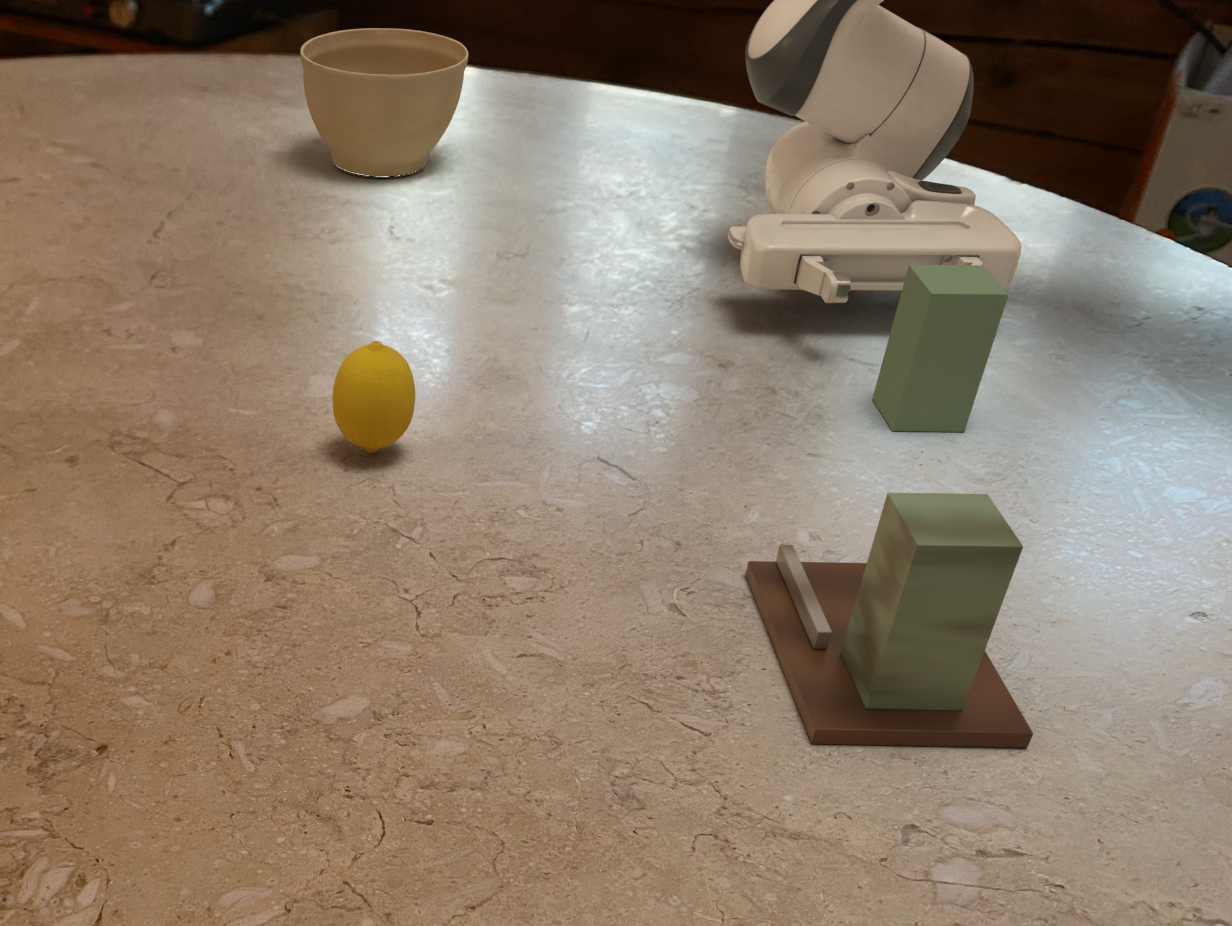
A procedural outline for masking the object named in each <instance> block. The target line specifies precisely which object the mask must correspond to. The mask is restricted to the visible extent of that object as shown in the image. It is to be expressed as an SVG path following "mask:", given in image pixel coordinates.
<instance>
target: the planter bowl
mask: <svg viewBox="0 0 1232 926" xmlns="http://www.w3.org/2000/svg"><path fill="white" fill-rule="evenodd" d="M299 52H300V53H299V54H300V62H301V66H302V79H303V80H302V81H303V89H304V96H305V101H306V104H307V108H308V111H309V114H310V116H311V119H312V122H313V124H314V126H315V128H316V131H317V132H318V134H319V136H320V138H321V139H322V141H323V142H324V143H325V145H326V146H327V148H328V149H329V151H330V157H331V162H332V161H333V162H332V164H333V163H334V164H335V165H337V166H338V167H340V168H342V169H345V170H347V171H350V172H354V173H359V174H364V175H369V176H394V177H393V178H399V177H400V176H398V175H402V176H401V177H404V176H409V175H413V174H415V173H416V174H417V173H418V172H420V171H421V170H423V169H424V168H425V167H426V165H427V164H428V160H429V155H430V153H431V152H432V150H433V149H434V148H435V147H436V146H437V145H438V144H439V142H440V140H441V139H442V138H443V136H444V134H445V133H446V131H447V129H449V126H450V124H451V122H452V119H453V118H454V116H455V113H456V110H457V107H458V104H459V101H460V98H461V95H462V89H463V84H464V76H465V71H466V68H467V65H468V61H469V50H468V49H467V47H466V46H465V45H464V44H463V43H462V42H460V41H458V40H456V39H454V38H451V37H448V36H445V35H441V34H437V33H433V32H428V31H424V30H423V31H422V30H415V29H407V28H406V29H405V28H392V27H391V28H389V27H388V28H379V27H376V28H375V27H374V28H373V27H370V28H369V27H368V28H367V27H366V28H353V29H351V28H350V29H343V30H337V31H332V32H331V31H330V32H328V33H325V34H324V33H323V34H321V35H320V34H319V35H318V36H315V37H312V38H310V39H308V40H307V41H305V42H304V43H303V44H302V45H301V47H300V51H299ZM334 164H333V165H334ZM335 165H334V166H335ZM424 166H425V167H424ZM423 167H424V168H423ZM422 168H423V169H422ZM420 169H421V170H420ZM418 170H419V171H418ZM415 171H417V172H415ZM343 172H344V173H346V172H345V171H343ZM412 172H414V173H412ZM409 173H411V174H409ZM404 174H407V175H404ZM353 175H355V174H353ZM355 176H356V175H355ZM358 176H359V177H361V176H360V175H358ZM369 176H364V177H366V178H370V177H369ZM378 178H381V179H382V178H385V179H386V178H388V177H378Z"/></svg>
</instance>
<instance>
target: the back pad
mask: <svg viewBox="0 0 1232 926" xmlns="http://www.w3.org/2000/svg"><path fill="white" fill-rule="evenodd" d="M1005 289H1006V288H1005ZM1005 289H1004V288H1003V287H1002V286H1001V285H1000V284H999V283H998V282H997V281H996V279H995V278H994V277H993V276H992V275H991V274H990V273H989V272H988V270H987V269H986V268H985V267H984V266H983V265H909V267H908V270H907V274H906V278H905V281H904V285H903V289H902V291H901V293H900V296H899V300H898V304H897V307H896V310H895V314H894V319H893V321H892V325H891V329H890V332H889V337H888V339H887V342H886V343H887V344H886V346H885V351H884V353H883V354H884V356H883V358H882V362H881V365H880V369H879V373H878V376H877V380H876V383H875V386H874V390H873V394H872V398H871V399H872V401H873V402H874V405H875V406H876V407H877V409H878V410H879V412H880V414H881V415H882V417H883V419H884V420H885V422H886V424H887V425H888V426H889V428H890V430H891V432H931V433H932V432H933V433H935V432H937V433H939V432H941V433H942V432H943V433H944V432H945V433H964V432H965V431H966V429H967V426H968V422H969V419H970V417H971V413H972V410H973V407H974V404H975V400H976V398H977V394H978V391H979V388H980V385H981V382H982V379H983V376H984V372H985V369H986V366H987V363H988V360H989V357H990V354H991V351H992V348H993V344H994V342H995V338H996V335H997V332H998V330H999V326H1000V323H1001V321H1002V317H1003V313H1004V310H1005V308H1006V304H1007V301H1008V298H1009V295H1010V294H1009V293H1008V292H1007V290H1005Z"/></svg>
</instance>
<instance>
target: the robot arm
mask: <svg viewBox="0 0 1232 926" xmlns="http://www.w3.org/2000/svg"><path fill="white" fill-rule="evenodd" d="M884 1H885V0H772V1H771V2H770V3H769V5H768V6H767V7H766V8H765V10H764V11H763V12H762V14H761V15H760V17H759V19H758V20H757V21H756V22H755V24H754V26H753V29H752V30H751V33H750V35H749V36H748V38H747V42H746V45H745V51H744V55H745V57H744V58H745V67H746V73H747V76H748V80H749V84H750V88H751V90H752V92H753V95H754V97H755V99H756V101H757V103H759V104H762V105H764V106H767V107H769V108H771V109H774V110H776V111H778V112H781V113H783V114H786V115H789V116H791V117H794V116H795V117H796V118H798V119H800V120H802V121H803V122H801V123H798V124H796V125H794V126H792V127H791V128H789V129H787V130H786V131H785V132H784V133H783V134H781V136H780V137H779V138H778V139H777V140H776V142H775V143H774V144H773V146H772V148H771V150H770V151H769V154H768V157H767V161H766V165H765V171H764V188H765V195H766V199H767V202H768V204H769V207H770V209H771V211H772V213H762V214H756V215H753V216H752V217H750V218H749V219H748V221H744V222H743V224H742V225H739V226H735V225H734V226H731V227H730V228H729V230H728V232H727V236H728V237H727V239H728V240H729V241H728V242H729V243H730V244H731V245H732V246H733V248H736V249H738V250H741V253H740V258H739V260H740V261H739V264H740V271H741V275H742V278H743V281H744V283H745V284H746V285H748V286H750V287H751V288H754V289H758V290H763V291H772V290H773V291H780V290H781V291H806V292H808V293H809V294H810V293H811V294H813V295H816V296H819V297H821V299H822V300H823V302H824V304H846V303H847V302H848V299H849V295H848V293H849V292H850V291H899V292H900V291H901V292H902V289H903V285H904V281H905V278H906V274H907V270H908V267H909V265H983V266H984V267H985V268H986V269H987V270H988V272H989V273H990V274H991V275H992V276H993V277H994V278H995V279H996V281H997V282H998V283H999V284H1000V285H1001V286H1002V287H1003V288H1004V289H1007V287H1008V286H1010V285H1011V283H1012V281H1013V279H1014V277H1015V274H1016V272H1017V268H1018V267H1019V266H1018V265H1019V262H1020V257H1021V253H1022V243H1021V241H1020V239H1019V238H1018V236H1017V235H1016V234H1015V233H1014V232H1013V230H1011V228H1010V227H1009V226H1008V225H1006V224H1005V222H1004V221H1003V220H1002V219H1000V218H999V217H998V216H997V215H995V214H994V213H993V212H991V211H990V210H988V209H986V208H984V207H982V206H978V205H975V203H976V193H975V192H974V191H973V190H972V189H970V188H968V187H965V186H959V185H955V184H947V183H940V182H934V181H928V180H925V179H926V178H927V177H928V176H929V175H930V174H932V173H933V171H934V170H936V169H937V168H938V166H940V164H941V163H942V162H943V161H944V160H945V158H946V157H947V156H948V155H949V153H950V152H951V151H952V149H953V148H954V146H955V145H956V144H957V142H958V141H959V139H960V138H961V136H962V134H963V132H964V131H965V129H966V127H967V125H968V122H969V119H970V116H971V112H972V111H971V110H972V105H973V97H974V88H975V87H974V85H975V84H974V81H975V80H974V71H973V66H972V63H971V60H970V58H969V56H967V54H965V53H963V52H961V51H959V50H958V49H956V48H954V47H953V46H952V45H950V44H948V43H947V42H944V41H943V40H942V39H940V38H938V37H937V36H935V35H933V34H931V33H930V32H928V31H926V30H924V29H923V28H921V27H918V26H915V25H914V24H912V23H911V22H909V21H907V20H905V19H903V18H902V17H900V16H898V15H897V14H895V13H893V12H891V11H890V10H888V9H887V8H885V7H883V6H881V5H880V4H881V3H882V2H884Z"/></svg>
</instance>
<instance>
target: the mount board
mask: <svg viewBox="0 0 1232 926" xmlns="http://www.w3.org/2000/svg"><path fill="white" fill-rule="evenodd" d="M1023 549H1024V545H1023V544H1022V542H1021V541H1020V539H1019V537H1017V535H1016V534H1015V532H1014V530H1013V529H1012V527H1011V526H1010V525H1009V523H1008V522H1007V521H1006V519H1005V517H1004V516H1003V515H1002V513H1001V512H1000V510H999V509H998V507H997V506H996V504H995V503H994V501H993V500H992V498H991V496H989V494H988V493H946V492H945V493H943V492H941V493H940V492H939V493H938V492H937V493H936V492H887V493H886V497H885V500H884V503H883V507H882V511H881V513H880V517H879V520H878V524H877V527H876V531H875V534H874V537H873V541H872V544H871V548H870V551H869V554H868V557H867V561H866V562H839V561H837V562H835V561H834V562H829V561H827V562H826V561H822V562H821V561H801V560H800V558H799V556H798V554H797V553H798V552H797V551H796V549H795V547H794V545H793V544H779V547H778V549H777V550H778V551H777V554H776V559H775V561H774V560H773V561H771V560H770V561H769V560H768V561H767V560H766V561H765V560H749V561H748V562H747V565H746V566H747V567H746V569H745V573H744V575H745V577H746V580H747V583H748V586H749V588H750V591H751V593H752V597H753V598H754V601H755V603H756V606H757V608H758V611H759V613H760V615H761V618H762V621H763V624H764V626H765V629H766V632H767V634H768V636H769V639H770V642H771V644H772V647H773V649H774V651H775V654H776V657H777V660H778V661H779V665H780V667H781V669H782V672H783V674H784V677H785V679H786V682H787V685H788V688H789V690H790V693H791V695H792V698H793V700H794V703H795V705H796V708H797V709H798V710H797V711H798V713H799V715H800V718H801V721H802V723H803V726H804V728H805V731H806V733H807V736H808V738H809V741H810V743H811V744H812V745H814V744H815V745H852V746H853V745H855V746H856V745H858V746H859V745H861V746H904V747H905V746H910V747H956V748H957V747H959V748H962V747H964V748H1007V749H1008V748H1012V749H1028V748H1029V745H1030V743H1031V740H1032V738H1033V736H1034V731H1033V730H1032V728H1031V727H1030V725H1029V724H1028V722H1027V720H1026V718H1025V717H1024V715H1023V713H1022V711H1021V710H1020V708H1019V706H1018V705H1017V703H1016V701H1015V700H1014V698H1013V696H1012V694H1011V692H1010V691H1009V689H1008V687H1007V686H1006V684H1005V682H1004V680H1003V679H1002V677H1001V676H1000V673H999V672H998V670H997V668H996V667H995V665H994V664H993V662H992V660H991V658H990V657H989V654H988V653H987V652H986V648H987V646H988V643H989V640H990V639H991V635H992V632H993V630H994V626H995V624H996V622H997V619H998V617H999V613H1000V610H1001V608H1002V605H1003V603H1004V600H1005V598H1006V594H1007V591H1008V589H1009V587H1010V583H1011V580H1012V578H1013V576H1014V573H1015V570H1016V568H1017V565H1018V562H1019V561H1020V560H1019V559H1020V556H1021V554H1022V551H1023Z"/></svg>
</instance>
